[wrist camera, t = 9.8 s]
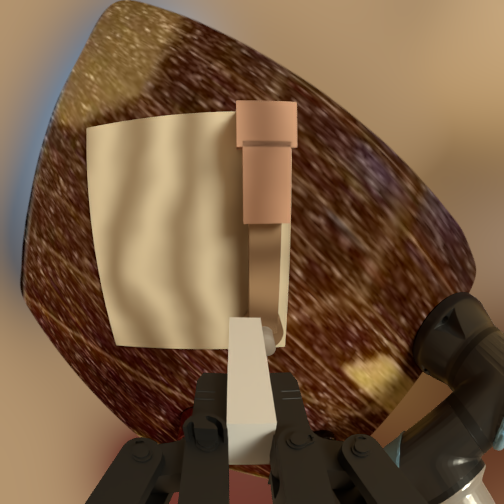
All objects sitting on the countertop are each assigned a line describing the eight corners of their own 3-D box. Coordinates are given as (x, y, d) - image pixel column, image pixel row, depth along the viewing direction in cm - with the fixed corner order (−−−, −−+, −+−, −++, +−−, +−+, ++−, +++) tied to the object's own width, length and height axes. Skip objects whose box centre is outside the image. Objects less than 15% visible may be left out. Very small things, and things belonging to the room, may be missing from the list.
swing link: (279, 336, 33) (286, 363, 28) (242, 338, 33) (244, 365, 28) (285, 169, 27) (296, 171, 22) (240, 169, 27) (242, 170, 22)
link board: (288, 115, 27) (302, 102, 21) (283, 339, 35) (291, 372, 29) (92, 129, 26) (62, 124, 20) (119, 339, 34) (103, 368, 28)
